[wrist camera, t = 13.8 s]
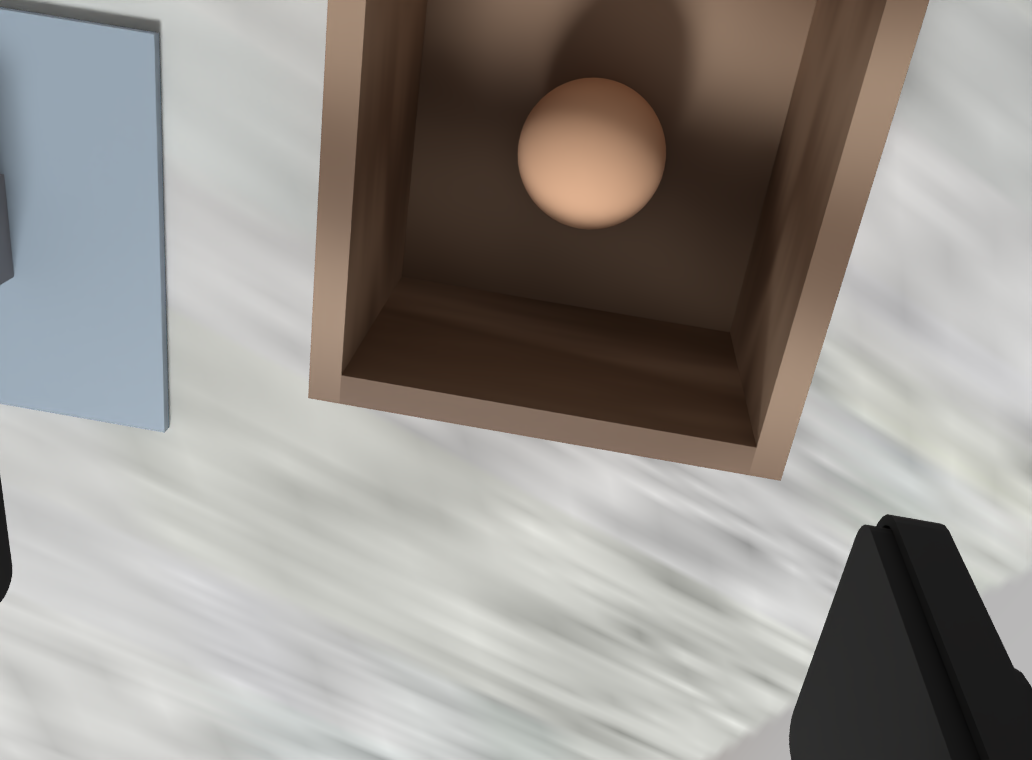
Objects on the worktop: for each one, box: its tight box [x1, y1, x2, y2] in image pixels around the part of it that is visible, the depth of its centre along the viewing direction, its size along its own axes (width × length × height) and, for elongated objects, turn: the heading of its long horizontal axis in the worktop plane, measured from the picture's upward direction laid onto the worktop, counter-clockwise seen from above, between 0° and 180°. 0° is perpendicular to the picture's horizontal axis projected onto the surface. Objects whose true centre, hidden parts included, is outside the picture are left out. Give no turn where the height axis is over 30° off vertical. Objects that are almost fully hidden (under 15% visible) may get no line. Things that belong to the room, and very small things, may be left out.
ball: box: [518, 78, 666, 230], centre depth 26 cm, size 4×4×4 cm
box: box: [308, 0, 929, 481], centre depth 25 cm, size 12×12×8 cm
